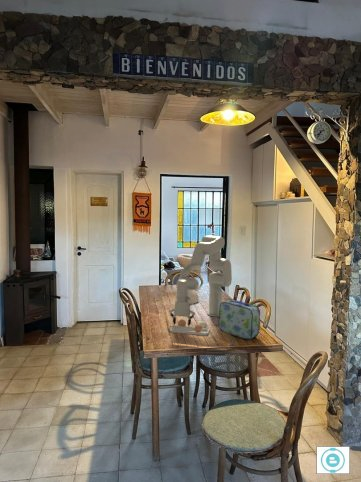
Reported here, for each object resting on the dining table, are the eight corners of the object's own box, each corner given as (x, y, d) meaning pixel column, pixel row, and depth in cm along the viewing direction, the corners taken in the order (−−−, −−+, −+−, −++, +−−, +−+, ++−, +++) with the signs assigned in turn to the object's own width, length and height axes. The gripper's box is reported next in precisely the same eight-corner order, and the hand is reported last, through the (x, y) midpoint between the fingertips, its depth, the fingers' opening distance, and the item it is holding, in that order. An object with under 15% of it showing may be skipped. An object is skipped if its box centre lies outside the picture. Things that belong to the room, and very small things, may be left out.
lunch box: (262, 338, 201) (263, 304, 199) (252, 342, 193) (253, 307, 192) (227, 327, 219) (228, 296, 218) (217, 331, 212) (217, 298, 210)
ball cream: (200, 327, 218) (200, 319, 217) (207, 328, 216) (207, 320, 216) (198, 329, 213) (198, 322, 212) (206, 330, 212) (206, 322, 211)
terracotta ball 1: (179, 325, 221) (179, 318, 221) (186, 326, 220) (186, 318, 219) (177, 327, 216) (177, 320, 216) (184, 328, 215) (184, 320, 215)
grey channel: (172, 329, 215) (172, 325, 215) (209, 332, 209) (209, 328, 209) (169, 333, 207) (169, 329, 207) (207, 337, 201) (207, 333, 201)
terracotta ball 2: (195, 330, 210) (195, 322, 209) (203, 331, 209) (203, 323, 208) (193, 333, 205) (193, 325, 205) (201, 334, 204) (201, 326, 203)
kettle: (203, 302, 281) (203, 281, 280) (181, 305, 272) (181, 283, 271) (192, 297, 299) (192, 277, 298) (171, 299, 290) (171, 279, 289)
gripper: (196, 298, 218) (195, 324, 219) (171, 296, 222) (170, 321, 223) (194, 301, 211) (193, 327, 212) (167, 299, 215) (167, 325, 216)
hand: (181, 324), depth 218 cm, fingers open, 9 cm apart
